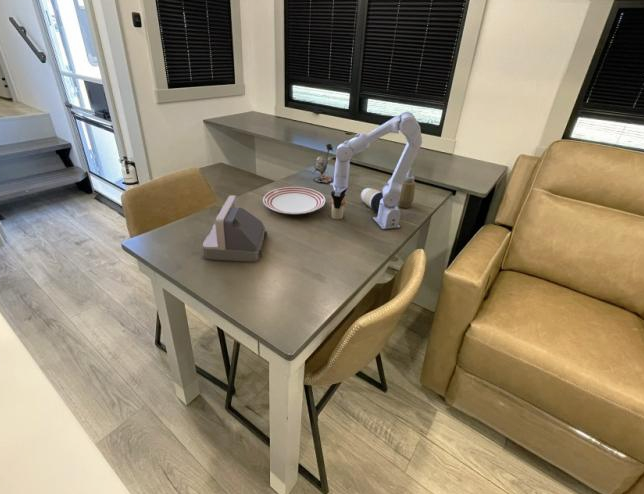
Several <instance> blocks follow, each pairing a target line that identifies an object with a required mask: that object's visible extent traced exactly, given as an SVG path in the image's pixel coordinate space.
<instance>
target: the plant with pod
mask: <svg viewBox="0 0 644 494" xmlns="http://www.w3.org/2000/svg"><path fill="white" fill-rule="evenodd" d="M325 146H326V150H327V154H326V158H325V157H323V156H321V155H318V157H317V158H316V160H315V162H314V165H313V166H314V171H313V172H312V175H314V174H315V173H316V172H317V171H318V173H320V176H318V177H317V178H315V179H314V181H316V182H318V183H321V182H322V183H325V184H328V183H329V182H332V181H333V182H334V179H331V178H329V176H328V175H326V170H327V168H328V163H329V162H328V159H327V158H328V156H329V152H330V151H332V152H334V150H333V149H334V146H333V144H332V143H331V142H329V143H326V145H325Z"/></svg>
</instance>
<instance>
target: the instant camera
mask: <svg viewBox="0 0 644 494" xmlns="http://www.w3.org/2000/svg"><path fill="white" fill-rule="evenodd" d="M265 226H266V225H264V223H263V221H262V220H260V219H259V218H258V217H256V216H254V215H253V214H252V213H250V212H249V211H247V210H246V209H245V208H243V207H239V206H238V197H237V195H228V197H227V199H226V200H225V202H224V204H223V205H222V206H220V207H219V208H218V211H217V216H216V218H215V220H214V224H213V225H212V226H211V227H212V229H211V230H210V231H209V233H208V235H207V236H206V238H205V239H204V241H203V243H202V246H203V255H204V259H205V260H213V261H235V262H251V263H252V262H257V261H258V260H259V258H260V256H262V254H263V251H262V247H263V244H264V240H265V237H267V236H268V231H267V230H266V227H265Z"/></svg>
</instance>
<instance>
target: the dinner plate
mask: <svg viewBox="0 0 644 494" xmlns="http://www.w3.org/2000/svg"><path fill="white" fill-rule="evenodd" d="M262 203H263V205H264V206H265V207H266V208H267V209H270V210H272V211H273V212H277V213H279V214H284V215H297V216H298V215H306V214H310V213H313V212H316V211H318V210H320V209H321V208H323V207H324V206H325V205H326V196H324V194H323V193H321V192H320V191H318V190H315V189H312V188H308V187H301V186H286V187H280V188H279V187H278V188H275V189H272V190H270V191H269V192H267V193H266V194H265V195H264V196H263V198H262Z"/></svg>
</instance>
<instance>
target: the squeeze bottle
mask: <svg viewBox="0 0 644 494" xmlns="http://www.w3.org/2000/svg"><path fill="white" fill-rule="evenodd" d="M415 178H416V177H415V176H414V175H413V168H412V167H410V169H409V171H408V174H407V176H406V178H405V180H404V182H403V184H402V188H401V192H400V195H399V202H398V207H400V208H404V209H407V208H410V207H411V205H412V204H413V203H414V199H415V193H416V192H415V190H416V182H415Z"/></svg>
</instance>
